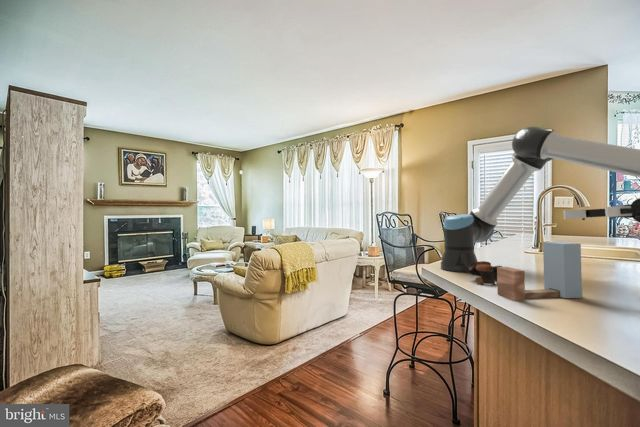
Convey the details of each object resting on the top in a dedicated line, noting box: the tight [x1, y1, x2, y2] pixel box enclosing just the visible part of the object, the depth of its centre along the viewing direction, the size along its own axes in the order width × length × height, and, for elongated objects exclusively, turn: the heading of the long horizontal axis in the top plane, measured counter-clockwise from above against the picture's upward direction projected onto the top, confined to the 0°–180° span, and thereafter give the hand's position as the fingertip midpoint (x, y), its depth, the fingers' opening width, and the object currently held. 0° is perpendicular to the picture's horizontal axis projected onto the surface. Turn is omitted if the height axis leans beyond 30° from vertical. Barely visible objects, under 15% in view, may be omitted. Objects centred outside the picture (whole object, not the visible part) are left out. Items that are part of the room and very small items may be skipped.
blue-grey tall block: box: [542, 241, 583, 299], centre depth 87 cm, size 5×7×15 cm
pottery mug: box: [466, 260, 503, 285], centre depth 105 cm, size 12×10×8 cm
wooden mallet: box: [496, 266, 561, 302], centre depth 86 cm, size 21×7×8 cm, turn 94°
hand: (583, 213), depth 88 cm, fingers open, 13 cm apart
